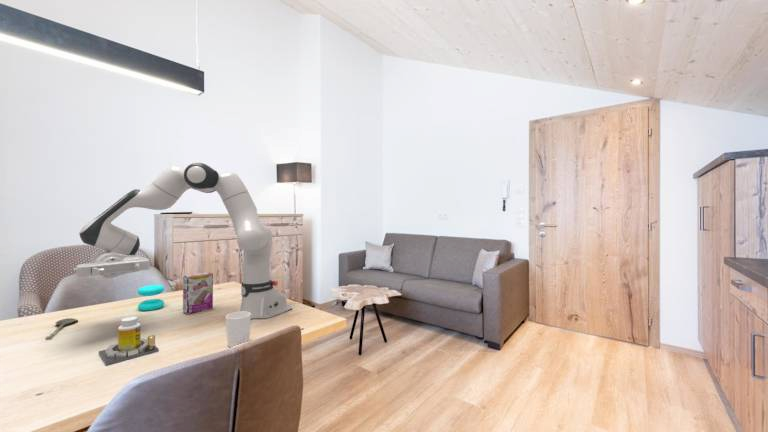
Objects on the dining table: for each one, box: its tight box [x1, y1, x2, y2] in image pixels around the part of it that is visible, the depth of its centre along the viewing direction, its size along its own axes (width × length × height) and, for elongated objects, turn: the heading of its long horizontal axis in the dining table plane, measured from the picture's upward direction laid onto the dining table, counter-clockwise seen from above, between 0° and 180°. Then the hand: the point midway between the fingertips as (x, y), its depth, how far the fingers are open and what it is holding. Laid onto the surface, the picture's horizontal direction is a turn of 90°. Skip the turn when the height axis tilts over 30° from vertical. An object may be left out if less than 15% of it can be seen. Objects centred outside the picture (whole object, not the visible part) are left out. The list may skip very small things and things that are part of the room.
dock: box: [98, 334, 160, 366], centre depth 104 cm, size 13×12×5 cm
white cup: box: [225, 311, 252, 348], centre depth 110 cm, size 8×8×10 cm
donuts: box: [137, 284, 165, 312], centre depth 150 cm, size 10×10×10 cm
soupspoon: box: [44, 317, 79, 341], centre depth 123 cm, size 22×3×7 cm
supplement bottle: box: [117, 316, 141, 351], centre depth 103 cm, size 6×6×10 cm
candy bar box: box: [182, 272, 214, 315], centre depth 147 cm, size 11×5×16 cm, turn 144°
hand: (119, 269), depth 111 cm, fingers open, 8 cm apart
